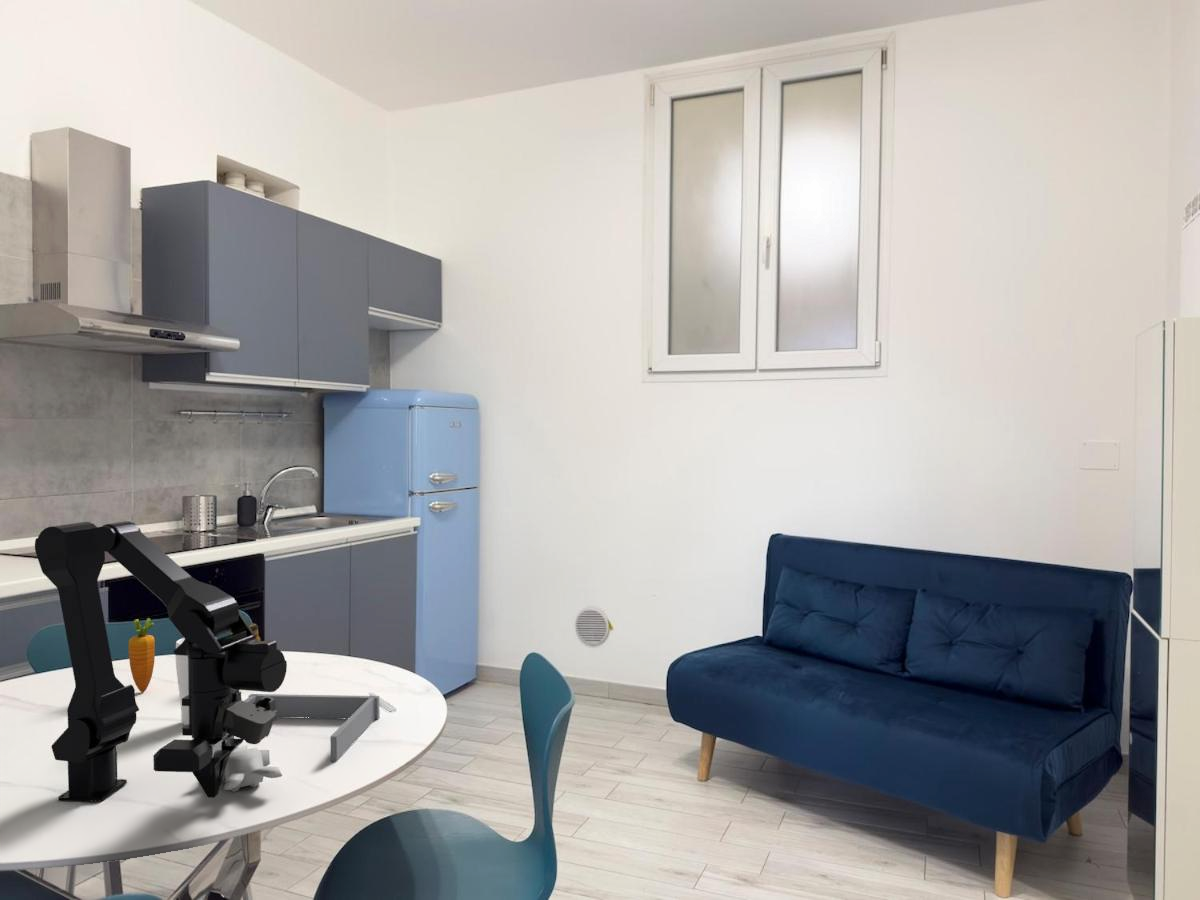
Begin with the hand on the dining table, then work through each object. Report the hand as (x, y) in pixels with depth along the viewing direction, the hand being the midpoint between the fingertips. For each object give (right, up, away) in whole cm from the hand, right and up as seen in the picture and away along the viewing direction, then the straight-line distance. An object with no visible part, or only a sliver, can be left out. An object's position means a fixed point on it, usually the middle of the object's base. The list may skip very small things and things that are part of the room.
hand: (212, 796), depth 120 cm
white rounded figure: (+1, -2, +8) cm, 8 cm away
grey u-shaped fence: (+2, -1, +27) cm, 27 cm away
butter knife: (+8, 0, +51) cm, 51 cm away
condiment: (-19, 0, +58) cm, 61 cm away
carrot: (-37, 0, +51) cm, 63 cm away
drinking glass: (-18, -1, +34) cm, 39 cm away
